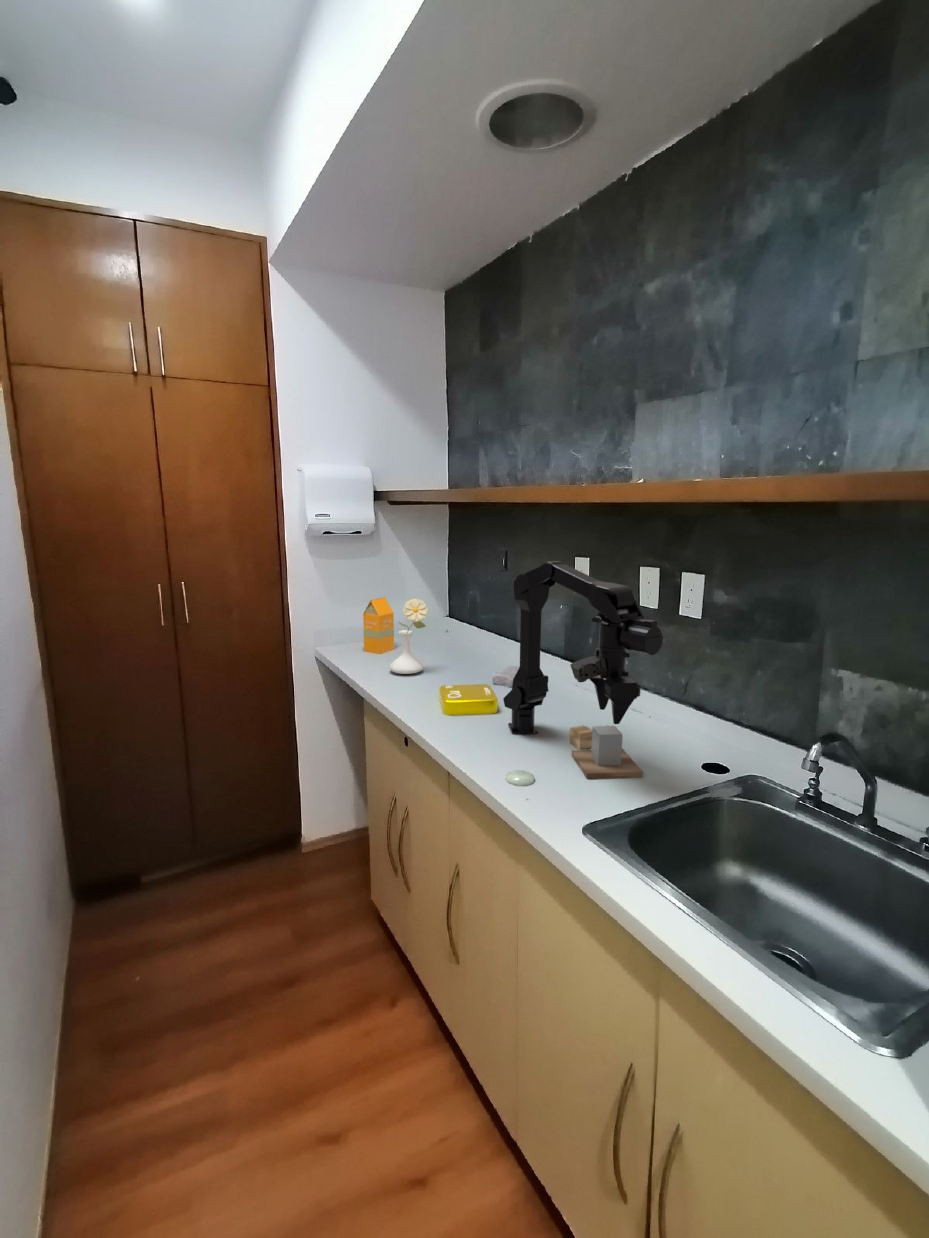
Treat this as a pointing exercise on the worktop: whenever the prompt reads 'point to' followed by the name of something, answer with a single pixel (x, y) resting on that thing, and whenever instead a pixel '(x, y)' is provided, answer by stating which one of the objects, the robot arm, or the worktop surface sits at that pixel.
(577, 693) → the worktop surface
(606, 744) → the slate block
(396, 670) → the flower in vase
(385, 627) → the orange juice
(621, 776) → the walnut board
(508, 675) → the stone block
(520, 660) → the robot arm
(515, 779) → the pale green rounded piece
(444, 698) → the element tile
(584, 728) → the oak cube
